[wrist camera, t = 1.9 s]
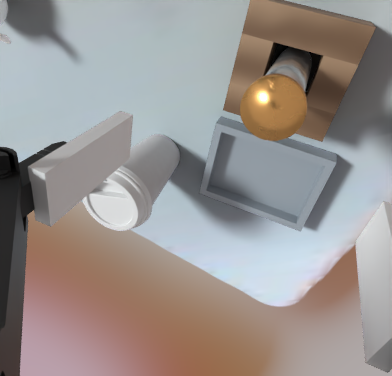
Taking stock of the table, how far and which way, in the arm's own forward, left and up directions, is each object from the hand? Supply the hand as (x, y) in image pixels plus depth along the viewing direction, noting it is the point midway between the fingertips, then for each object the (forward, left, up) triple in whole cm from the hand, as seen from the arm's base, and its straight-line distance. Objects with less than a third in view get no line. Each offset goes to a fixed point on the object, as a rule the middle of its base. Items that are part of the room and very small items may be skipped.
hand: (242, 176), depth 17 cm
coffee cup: (+18, -15, -27) cm, 36 cm away
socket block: (0, 0, -27) cm, 27 cm away
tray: (+15, +1, -27) cm, 31 cm away
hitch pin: (0, 0, -27) cm, 27 cm away
